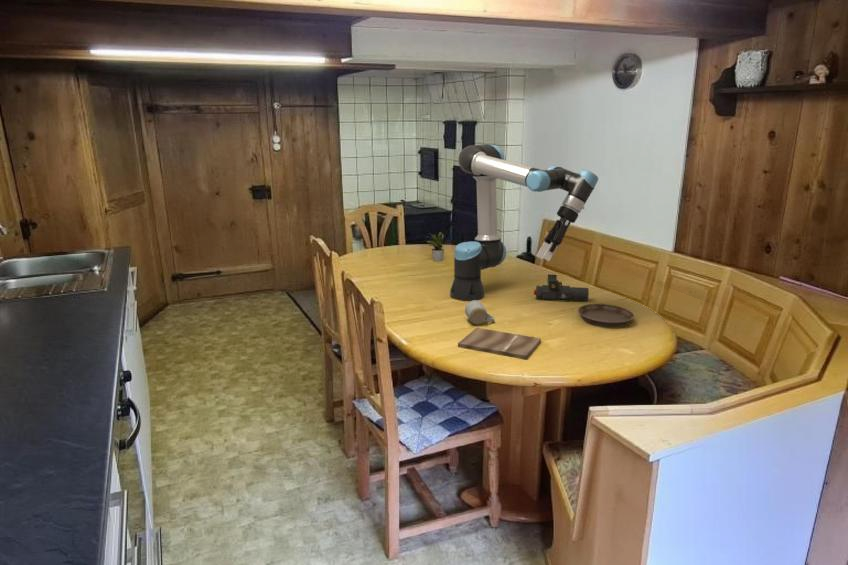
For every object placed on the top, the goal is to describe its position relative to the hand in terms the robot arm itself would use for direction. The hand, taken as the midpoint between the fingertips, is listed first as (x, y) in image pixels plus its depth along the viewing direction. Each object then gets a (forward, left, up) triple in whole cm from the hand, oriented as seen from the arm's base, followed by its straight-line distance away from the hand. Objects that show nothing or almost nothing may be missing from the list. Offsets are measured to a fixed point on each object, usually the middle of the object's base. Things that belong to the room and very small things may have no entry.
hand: (542, 258), depth 211 cm
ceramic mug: (-19, -16, -24) cm, 34 cm away
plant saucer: (+24, +8, -24) cm, 35 cm away
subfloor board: (-4, -34, -23) cm, 41 cm away
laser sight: (+2, +26, -24) cm, 35 cm away
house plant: (-78, +69, -24) cm, 107 cm away
